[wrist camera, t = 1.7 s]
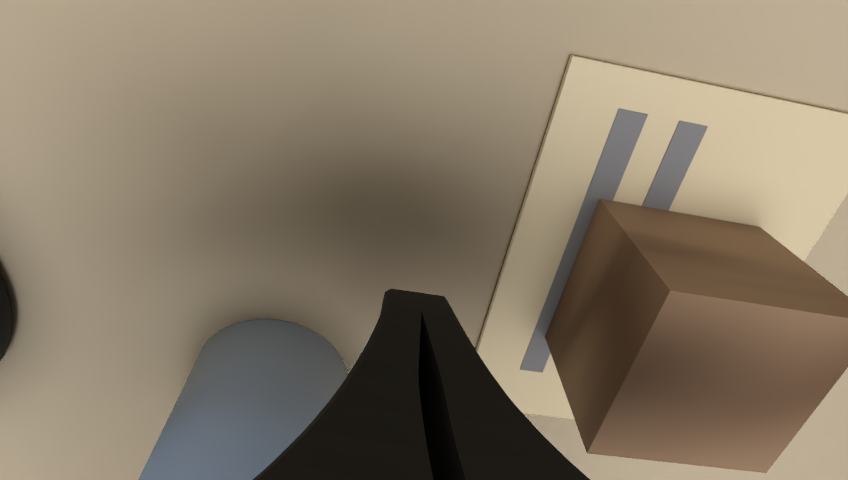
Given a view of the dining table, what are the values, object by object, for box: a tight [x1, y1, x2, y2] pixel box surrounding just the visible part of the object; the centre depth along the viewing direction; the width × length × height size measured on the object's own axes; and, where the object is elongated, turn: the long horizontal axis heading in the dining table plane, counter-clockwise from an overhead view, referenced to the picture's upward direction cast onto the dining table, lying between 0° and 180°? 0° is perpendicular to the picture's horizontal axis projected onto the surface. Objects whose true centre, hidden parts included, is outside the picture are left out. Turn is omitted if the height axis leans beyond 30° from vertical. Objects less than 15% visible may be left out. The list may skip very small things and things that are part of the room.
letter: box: [476, 55, 848, 419], centre depth 16 cm, size 12×9×1 cm
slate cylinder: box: [139, 319, 347, 480], centre depth 15 cm, size 5×5×6 cm
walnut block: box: [545, 199, 848, 473], centre depth 14 cm, size 5×5×4 cm
